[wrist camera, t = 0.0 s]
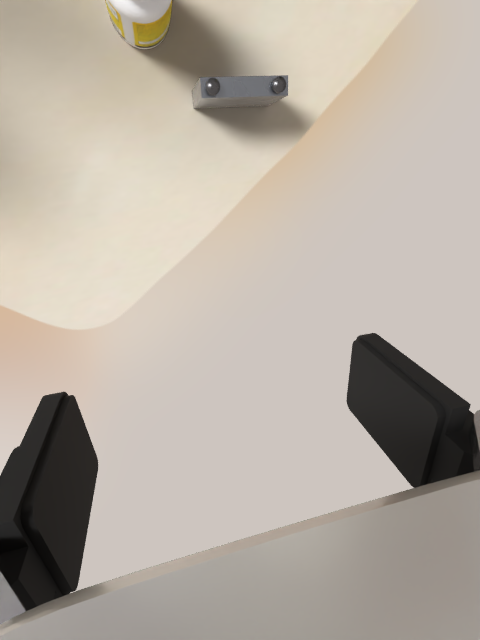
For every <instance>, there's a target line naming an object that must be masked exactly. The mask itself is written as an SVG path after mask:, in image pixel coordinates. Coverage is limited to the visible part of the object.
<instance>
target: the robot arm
mask: <svg viewBox="0 0 480 640" xmlns="http://www.w3.org/2000/svg"><path fill="white" fill-rule="evenodd" d="M347 404H348V407H349V409H350V411H351V412H352V413H353V414H354V416H355V417H356V418H357V419H358V420H359V422H360V423H361V424H362V425H363V427H364V428H365V429H366V430H367V432H368V433H369V434H370V435H371V437H372V438H373V439H374V440H375V441H376V442H377V444H378V445H379V446H380V448H381V449H382V450H383V451H384V453H385V454H386V455H387V456H388V457H389V459H390V460H391V461H392V462H393V463H394V465H395V466H396V467H397V469H398V470H399V471H400V472H401V473H402V475H403V476H404V477H405V478H406V480H407V481H408V482H409V483H410V484H411V486H413V487H414V488H413V489H410V490H406V491H403V492H399V493H396V494H393V495H389V496H386V497H382V498H379V499H375V500H372V501H369V502H365V503H362V504H358V505H355V506H351V507H348V508H345V509H341V510H338V511H335V512H331V513H328V514H325V515H321V516H318V517H315V518H311V519H308V520H304V521H301V522H298V523H295V524H291V525H288V526H285V527H282V528H278V529H274V530H271V531H268V532H265V533H261V534H258V535H254V536H251V537H248V538H244V539H241V540H238V541H235V542H232V543H228V544H225V545H221V546H219V547H215V548H212V549H209V550H205V551H202V552H198V553H195V554H192V555H189V556H185V557H182V558H179V559H176V560H173V561H169V562H166V563H162V564H159V565H156V566H153V567H149V568H146V569H143V570H140V571H137V572H134V573H131V574H128V575H125V576H122V577H119V578H115V579H112V580H109V581H106V582H103V583H100V584H97V585H94V586H91V587H88V588H84V589H81V590H79V591H76V592H73V591H75V590H76V588H77V586H78V581H79V576H80V570H81V564H82V558H83V552H84V546H85V541H86V535H87V529H88V524H89V518H90V512H91V506H92V501H93V495H94V489H95V483H96V478H97V472H98V460H97V456H96V453H95V450H94V448H93V445H92V442H91V440H90V437H89V434H88V431H87V429H86V426H85V423H84V420H83V418H82V415H81V412H80V409H79V407H78V404H77V402H76V399H75V397H74V396H73V395H70V396H68V394H67V393H66V392H61V393H55V394H50V395H45V396H43V398H42V399H41V401H40V404H39V406H38V408H37V410H36V412H35V414H34V417H33V419H32V421H31V423H30V425H29V427H28V429H27V432H26V434H25V436H24V438H23V440H22V442H21V444H20V446H19V447H17V448H15V449H14V450H13V452H12V453H11V455H10V457H9V459H8V461H7V463H6V465H5V467H4V469H3V471H2V473H1V476H0V640H480V410H479V411H477V412H476V413H475V414H473V413H472V412H470V411H469V408H470V404H469V403H468V402H467V401H465V400H464V399H462V398H461V397H460V396H459V395H457V394H456V393H454V392H453V391H452V390H451V389H449V388H448V387H447V386H445V385H444V384H443V383H441V382H440V381H439V380H437V379H436V378H435V377H433V376H432V375H431V374H429V373H428V372H426V371H425V370H424V369H423V368H421V367H420V366H418V365H417V364H416V363H415V362H413V361H412V360H411V359H409V358H408V357H407V356H405V355H404V354H402V353H401V352H400V351H399V350H397V349H396V348H395V347H393V346H392V345H391V344H389V343H388V342H387V341H385V340H384V339H383V338H381V337H380V336H379V335H377V334H375V333H371V334H366V335H360V336H358V337H357V339H356V341H354V342H353V346H352V355H351V364H350V373H349V383H348V392H347ZM70 592H73V593H71V594H70Z"/></svg>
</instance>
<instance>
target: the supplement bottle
mask: <svg viewBox="0 0 480 640" xmlns="http://www.w3.org/2000/svg"><path fill="white" fill-rule="evenodd" d="M105 1H106V5H107V9H108V13H109V16H110V19H111V21H112V24H113V26H114V28H115V29H116V31H117V32H118V34H119V35H120V36H121V37H122V38H123V39H124V40H125V41H126V42H127V43H128V44H130V45H132V46H134V47H136V48H139V49H151V48H154V47H156V46H157V45H159V44H160V43H161V42H162V41H163V40H164V38H165V36H166V34H167V32H168V29H169V24H170V18H171V9H172V0H105Z"/></svg>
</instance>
